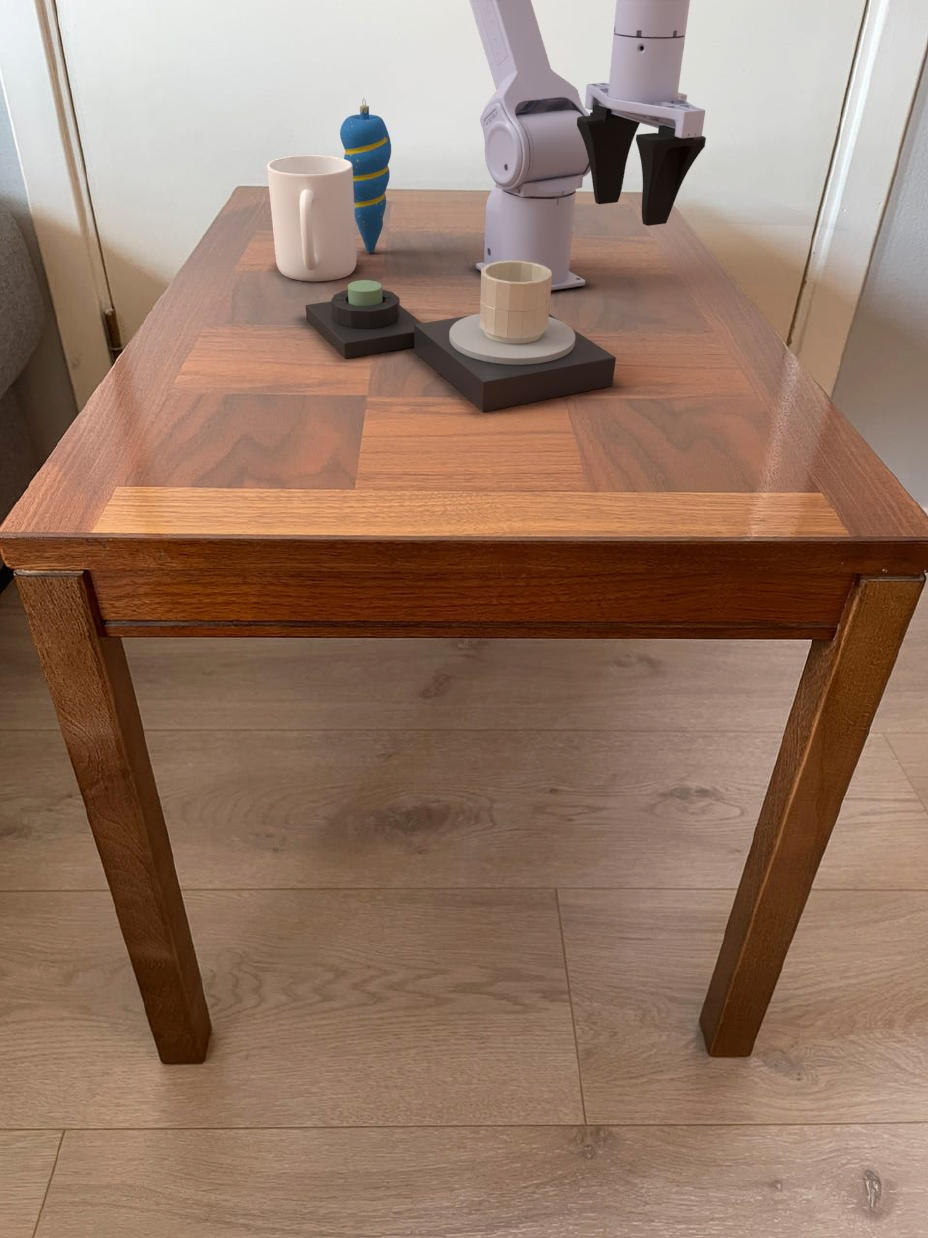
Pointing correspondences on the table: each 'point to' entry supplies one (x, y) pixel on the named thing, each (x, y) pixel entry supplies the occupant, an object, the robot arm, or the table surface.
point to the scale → (512, 362)
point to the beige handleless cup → (515, 301)
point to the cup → (313, 216)
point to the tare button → (365, 293)
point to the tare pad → (363, 325)
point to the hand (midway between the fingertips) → (629, 212)
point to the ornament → (368, 170)
